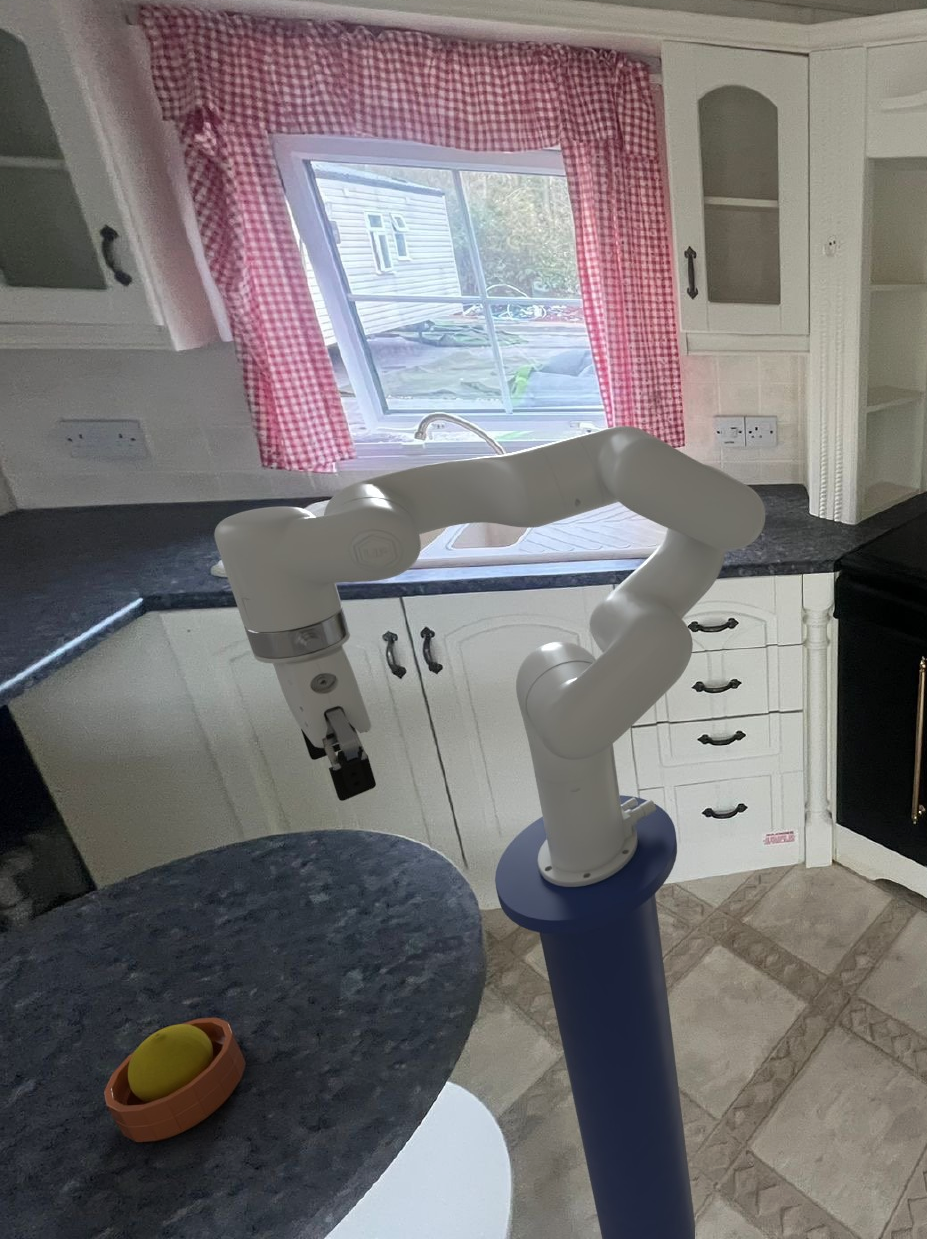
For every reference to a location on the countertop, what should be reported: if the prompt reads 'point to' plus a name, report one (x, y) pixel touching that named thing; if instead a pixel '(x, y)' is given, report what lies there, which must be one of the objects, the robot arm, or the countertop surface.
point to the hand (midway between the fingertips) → (342, 772)
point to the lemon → (169, 1061)
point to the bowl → (179, 1091)
